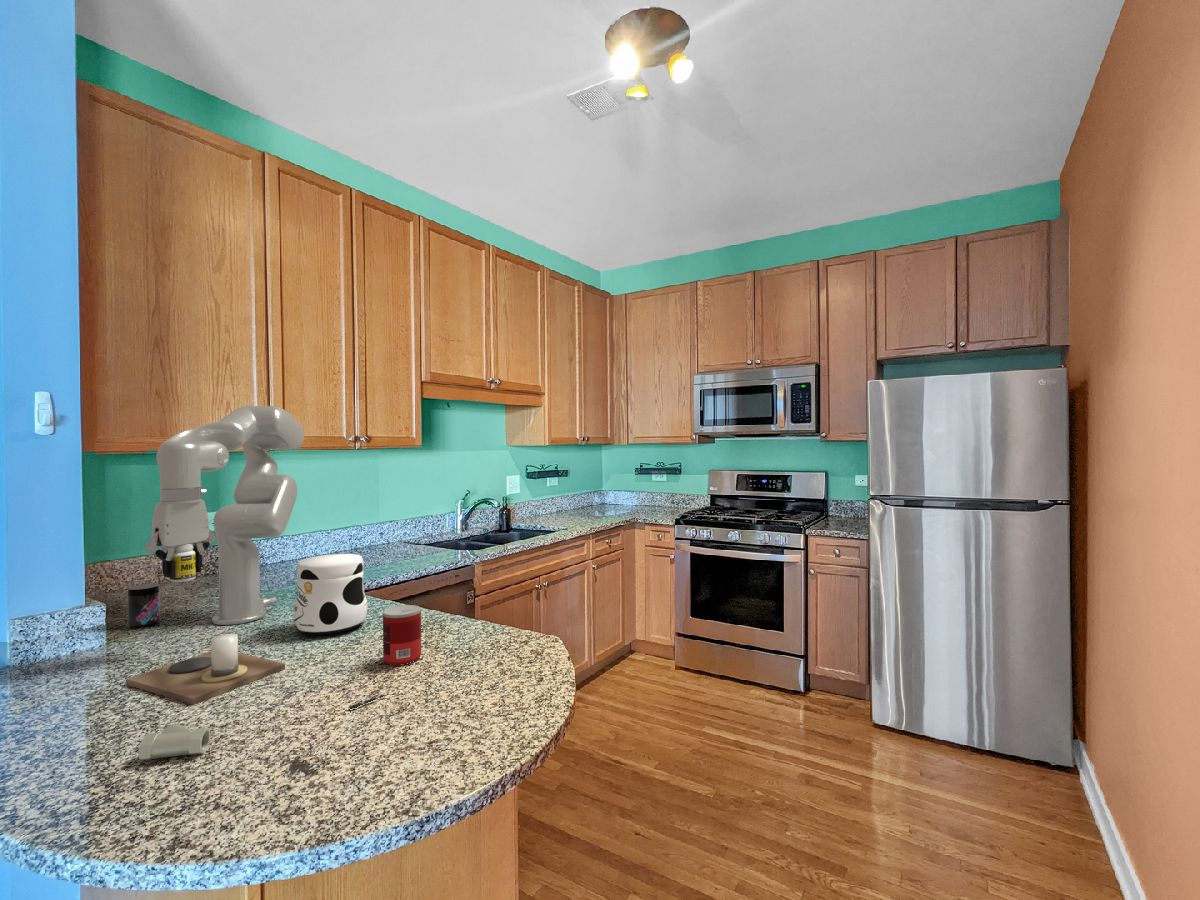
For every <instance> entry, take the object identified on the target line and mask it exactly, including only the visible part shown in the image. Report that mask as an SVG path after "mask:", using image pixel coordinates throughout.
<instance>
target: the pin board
mask: <svg viewBox="0 0 1200 900" xmlns="http://www.w3.org/2000/svg"><path fill="white" fill-rule="evenodd" d="M238 664H239V670H238V671H237V672H236V673H234V674H231V675H227V676H222V677H213V676H211V651H209V652H206V653H203V654H202V653H201V654H200V655H196V656H194V657H191V658H186V659H184V660H180V661H177V662H174V663H171V664H168V665H165V666H162V667H158V668H156V669H151V670H150V671H146V672H143V673H140V674H137V675H134V676H130V677H127V678H126V679H125V686H128V685H129V686H128V687H132V688H135V687H136V688H135V689H138V688H140V689H139V690H141V689H143V690H142V691H145V690H146V692H148V691H150V692H149V693H151V692H153V693H152V694H155V693H157V694H156V695H158V694H160V695H159V696H161V695H163V696H162V697H164V696H166V697H165V698H168V697H169V698H168V699H171V698H173V699H172V700H174V699H176V700H175V701H177V700H180V701H179V702H181V701H183V702H182V703H184V702H186V703H185V704H187V703H188V705H191V706H195V705H197V704H199V702H200V703H202V702H204V701H208V700H209V699H212V697H213V698H215V697H218V696H220V695H222V694H225V693H228V692H230V690H231V691H232V689H233V690H236V689H238V688H240V686H241V687H243V686H245V684H246V685H248V684H251V683H253V682H252V681H254V682H255V680H256V681H258V680H257V679H259V680H261V679H263V678H262V677H264V676H266V677H269V676H271V675H274V674H276V673H275V672H277V673H279V672H281V671H280V670H282V671H284V670H286V663H285V662H280V661H276V660H271V659H268V658H263V657H258V656H254V655H249V654H244V653H241V652H238ZM283 669H284V670H283ZM278 671H279V672H278ZM273 673H274V674H273ZM270 674H271V675H270ZM268 675H269V676H268ZM260 678H261V679H260ZM264 678H265V677H264ZM250 682H251V683H250ZM247 683H248V684H247ZM242 685H243V686H242ZM237 687H238V688H237ZM235 688H236V689H235ZM207 699H208V700H207ZM194 704H195V705H194Z"/></svg>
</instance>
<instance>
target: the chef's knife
mask: <svg viewBox="0 0 1200 900" xmlns="http://www.w3.org/2000/svg"><path fill="white" fill-rule="evenodd" d="M383 696H386V695H383V694H380V695H377V696H375V697H372V698H369V699H367V700H364V701H361V702H358V703H353V704H352V705H351V706H349V707H348V709H349V708H350V709H352V708H357V707H358V706H360V705H363V704H365V703H368V702H371V701H373V700H375V699H378V698H381V697H383Z"/></svg>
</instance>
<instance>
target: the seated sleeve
mask: <svg viewBox="0 0 1200 900" xmlns="http://www.w3.org/2000/svg"><path fill="white" fill-rule="evenodd" d="M238 636H239V635H238V634H237V633H225V634H220V635H216V636H214V637H212V638H211V639H210V644H211V646H210V647H211V648H210V652H211V676H213V677H222V676H227V675H231V674H234V673H236V672H237V671H238V670H239V664H238V653H239V649H238V648H239V647H238V645H239V644H238V643H239V642H238V639H239V637H238Z"/></svg>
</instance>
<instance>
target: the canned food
mask: <svg viewBox="0 0 1200 900" xmlns="http://www.w3.org/2000/svg"><path fill="white" fill-rule="evenodd" d="M421 612H422V610H421V607H420V606H419V605H413V604H402V605H396V606H392V607H388V608H387V609H385V610H383V612H382V653H383V655H382V657H383V658H382V659H383V662H384V663H386V664H385V665H387V664H391V665H401V664H407V663H410V662H413V661H415V660H417V659H418V658H419V657H420V658H421V655H422V613H421ZM420 658H419V659H420ZM419 659H418V660H419ZM418 660H417V661H418ZM415 662H416V661H415ZM413 663H414V662H413ZM407 665H408V664H407ZM401 666H402V665H401Z"/></svg>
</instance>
